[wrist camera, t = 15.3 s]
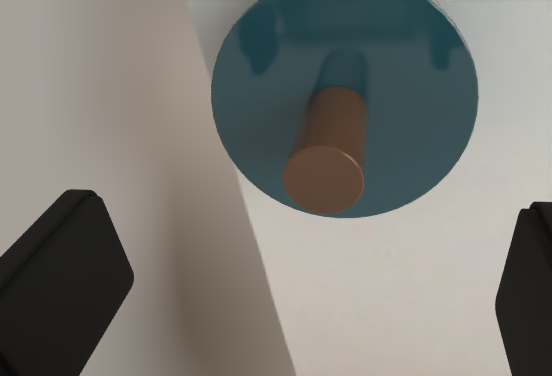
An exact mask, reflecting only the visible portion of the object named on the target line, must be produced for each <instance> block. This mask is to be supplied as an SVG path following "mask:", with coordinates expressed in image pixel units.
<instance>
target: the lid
mask: <svg viewBox="0 0 552 376" xmlns="http://www.w3.org/2000/svg"><path fill="white" fill-rule="evenodd" d="M478 99H479V94H478V79H477V74H476V70H475V65H474V61H473V59H472V56H471V53H470V51H469V48H468V46H467V43H466V41H465V40H464V38H463V36H462V34H461V33H460V31H459V29H458V28H457V26H456V24H455V23H454V22H453V21H452V19H451V18H450V17H449V16H448V14H447V13H446V12H445V11H444V10H443V9H442V8H441V7H440V6H439V5H438V4H437V3H436V2H435V1H433V0H257V1H256V2H255V3H254V4H253V5H252V6H251V7H249V8H248V9H247V10H246V11H245V12H244V13H243V15H242V16H241V17H240V18H239V19H238V21H237V22H236V23H235V24H234V25H233V27H232V29H231V30H230V32H229V33H228V35H227V37H226V38H225V40H224V42H223V44H222V47H221V49H220V51H219V53H218V56H217V60H216V63H215V67H214V71H213V78H212V85H211V102H212V110H213V117H214V120H215V124H216V128H217V132H218V134H219V136H220V139H221V141H222V144H223V146H224V147H225V149H226V151H227V153H228V154H229V156H230V158H231V159H232V161H233V162H234V164H235V165H236V166H237V168H238V169H239V170H240V171H241V172H242V173H243V174H244V176H245V177H246V178H247V179H248V180H249V181H250V182H252V183H253V184H254V185H255V186H256V187H257V188H258V189H260V190H261V191H263V192H264V193H265V194H267V195H268V196H270V197H271V198H273V199H275V200H277V201H279V202H280V203H282V204H284V205H287V206H289V207H291V208H294V209H296V210H299V211H303V212H306V213H309V214H313V215H318V216H323V217H333V218H359V217H368V216H373V215H377V214H382V213H386V212H389V211H392V210H395V209H398V208H400V207H402V206H404V205H406V204H408V203H411V202H413V201H414V200H416V199H418V198H419V197H421V196H422V195H424V194H426V193H427V192H428V191H429V190H431V189H432V188H433V187H435V186H436V185H437V184H438V183H439V182H440V181H441V180H442V179H443V178H444V177H445V176H446V175H447V174H448V173H449V172H450V171H451V169H452V168H453V167H454V165H455V164H456V163H457V162H458V160H459V159H460V157H461V155H462V153H463V152H464V150H465V148H466V146H467V144H468V142H469V139H470V137H471V134H472V132H473V129H474V125H475V121H476V116H477V110H478Z"/></svg>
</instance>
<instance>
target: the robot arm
mask: <svg viewBox="0 0 552 376" xmlns="http://www.w3.org/2000/svg"><path fill="white" fill-rule="evenodd" d="M133 281H134V274H133V271H132V268H131V266H130V263H129V261H128V259H127V256H126V254H125V252H124V249H123V247H122V244H121V242H120V240H119V237H118V235H117V233H116V230H115V228H114V225H113V223H112V221H111V218H110V216H109V213H108V211H107V209H106V206H105V204H104V202H103V200H102V198H101V197H99V196H97V194H96V193H95V192H94V191H92V190H72V189H70V190H67V191H65V192H64V193H63V194H62V195H61V196H60V197H59V198H58V199H57V200H56V201H55V202H54V203H53V204H52V205H51V206H50V207H49V208H48V209H47V210H46V211H45V213H43V214H42V215H41V216H40V217H39V218H38V220H36V221H35V222H34V224H33V225H32V226H31V227H30V228H29V229H28V230H27V231H26V232H25V233H24V234H23V235H22V236H21V237H20V238H19V239H18V240H17V241H16V242H15V243H14V244H13V245H12V246H11V247H10V248H9V249H8V250H7V251H6V252H5V253H4V254H3V255H2V256H1V257H0V376H79V375H80V373H81V372H82V370H83V368H84V366H85V365H86V363H87V361H88V360H89V358H90V356H91V354H92V353H93V351H94V350H95V348H96V346H97V345H98V343H99V341H100V339H101V338H102V336H103V335H104V333H105V331H106V329H107V328H108V326H109V324H110V323H111V321H112V319H113V318H114V316H115V314H116V313H117V311H118V309H119V308H120V306H121V304H122V302H123V301H124V299H125V298H126V296H127V294H128V292H129V291H130V289H131V287H132V285H133ZM495 310H496V316H497V320H498V324H499V328H500V332H501V336H502V339H503V343H504V347H505V351H506V355H507V358H508V362H509V366H510V370H511V374H512V376H552V202H533V203H532V204H531V205H530V208H529V209H521V210H520V212H519V215H518V219H517V223H516V226H515V230H514V234H513V237H512V241H511V245H510V248H509V252H508V256H507V259H506V263H505V267H504V271H503V274H502V278H501V282H500V285H499V289H498V293H497V296H496V302H495Z"/></svg>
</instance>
